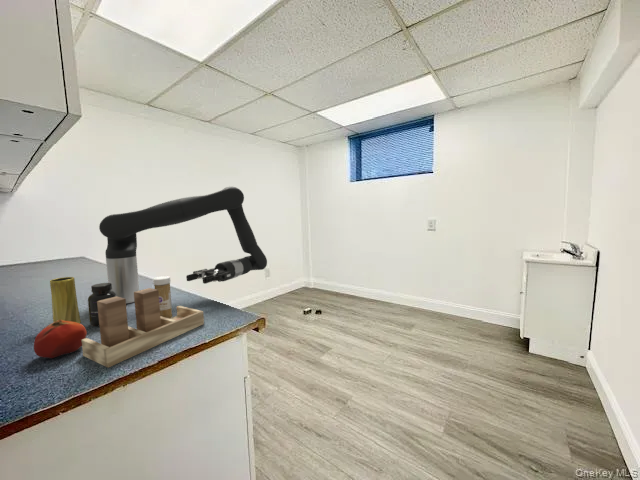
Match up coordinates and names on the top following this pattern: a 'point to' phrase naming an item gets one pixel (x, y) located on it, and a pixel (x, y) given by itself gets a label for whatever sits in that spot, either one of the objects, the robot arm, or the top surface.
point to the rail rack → (150, 327)
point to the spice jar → (164, 295)
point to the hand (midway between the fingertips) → (195, 279)
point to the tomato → (59, 339)
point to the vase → (64, 300)
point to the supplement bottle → (99, 293)
